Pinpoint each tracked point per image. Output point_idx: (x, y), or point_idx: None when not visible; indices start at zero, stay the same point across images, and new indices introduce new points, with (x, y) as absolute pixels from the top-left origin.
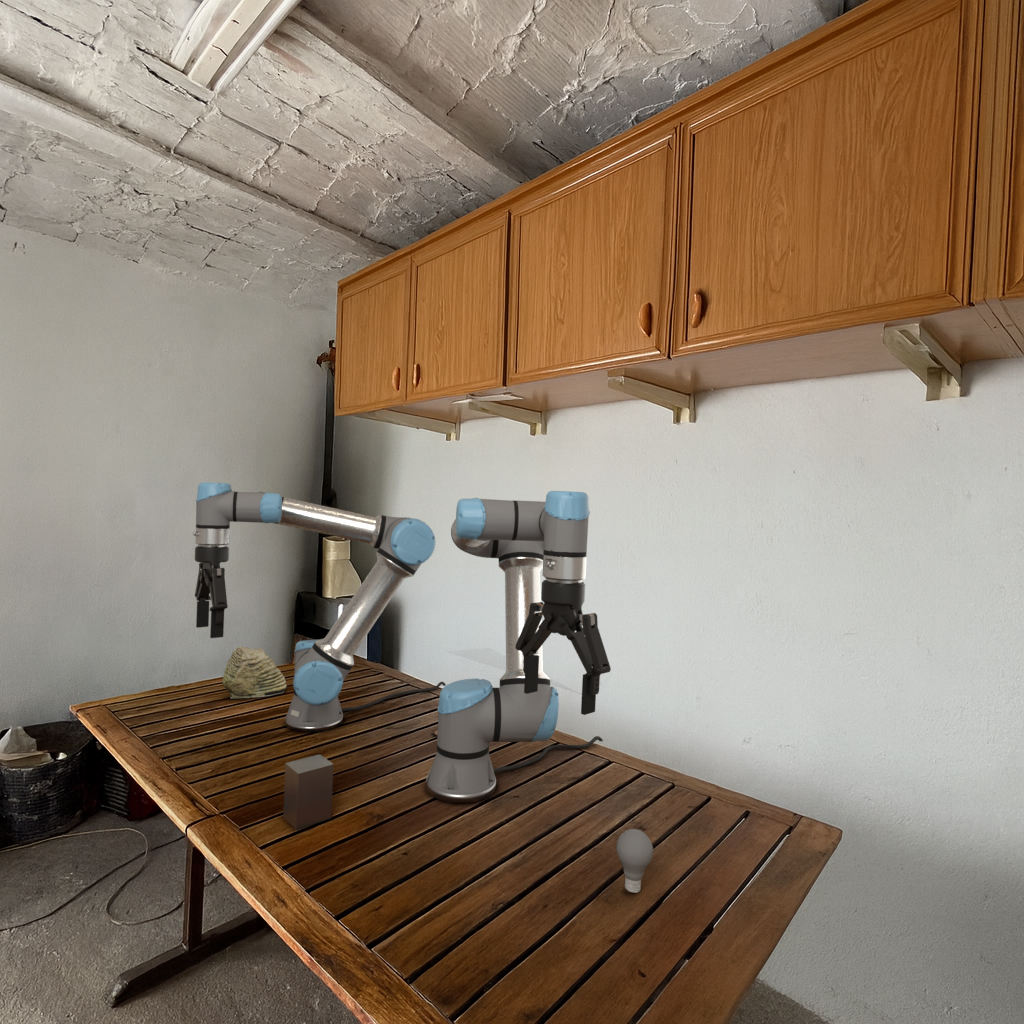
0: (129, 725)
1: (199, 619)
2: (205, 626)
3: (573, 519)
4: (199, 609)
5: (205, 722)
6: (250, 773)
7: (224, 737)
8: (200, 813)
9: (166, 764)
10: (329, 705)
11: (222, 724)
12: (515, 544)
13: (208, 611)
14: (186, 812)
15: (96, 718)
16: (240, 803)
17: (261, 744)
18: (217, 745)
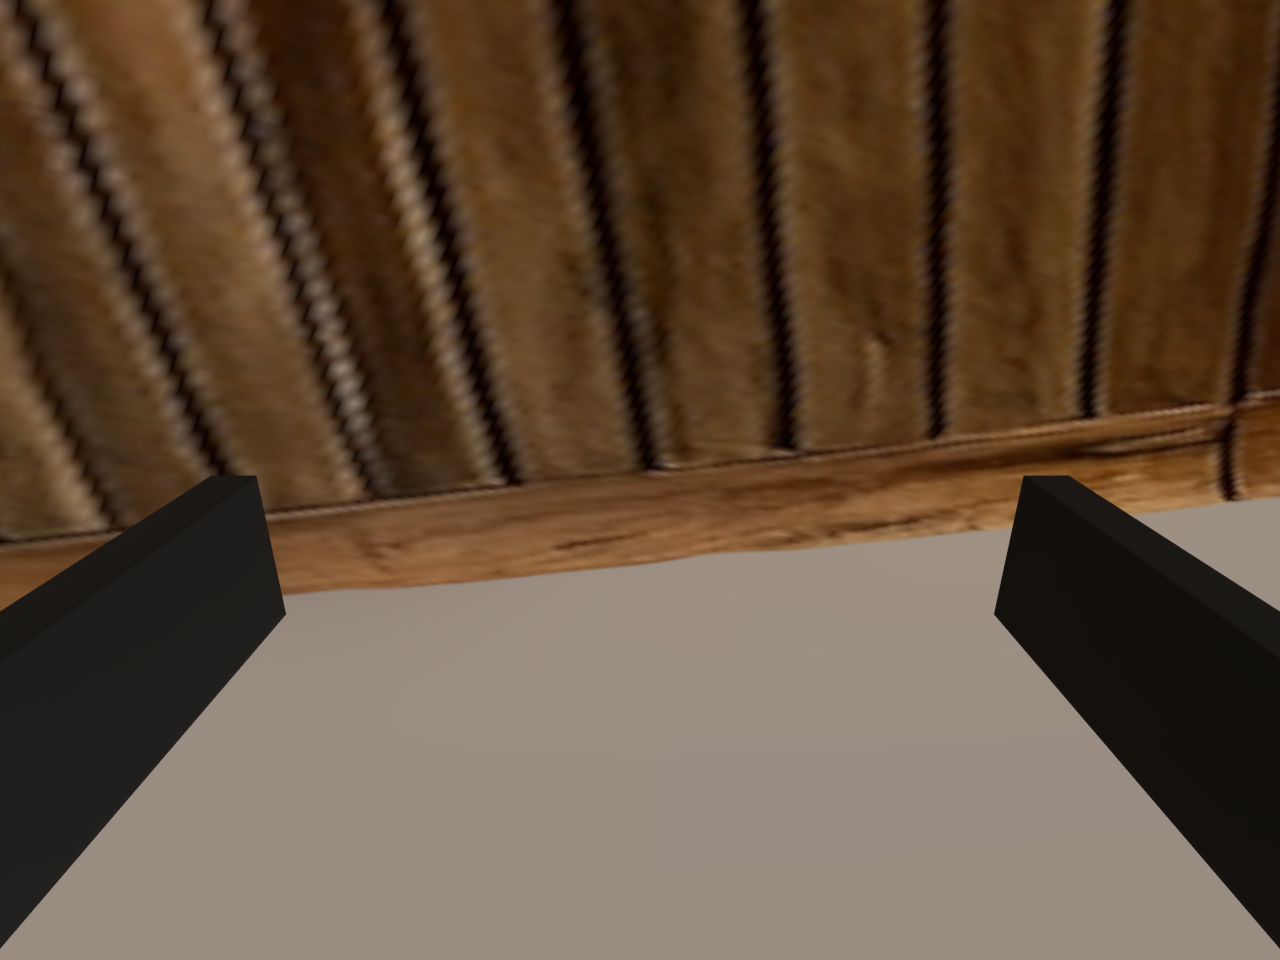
0: None
1: (219, 657)
2: (260, 516)
3: None
4: (103, 790)
5: (282, 222)
6: (1011, 217)
7: (539, 196)
8: (1184, 455)
9: (716, 467)
10: None
11: (346, 153)
12: None
13: (89, 605)
14: (1143, 487)
15: None
16: (1224, 329)
17: (727, 58)
18: (625, 253)
